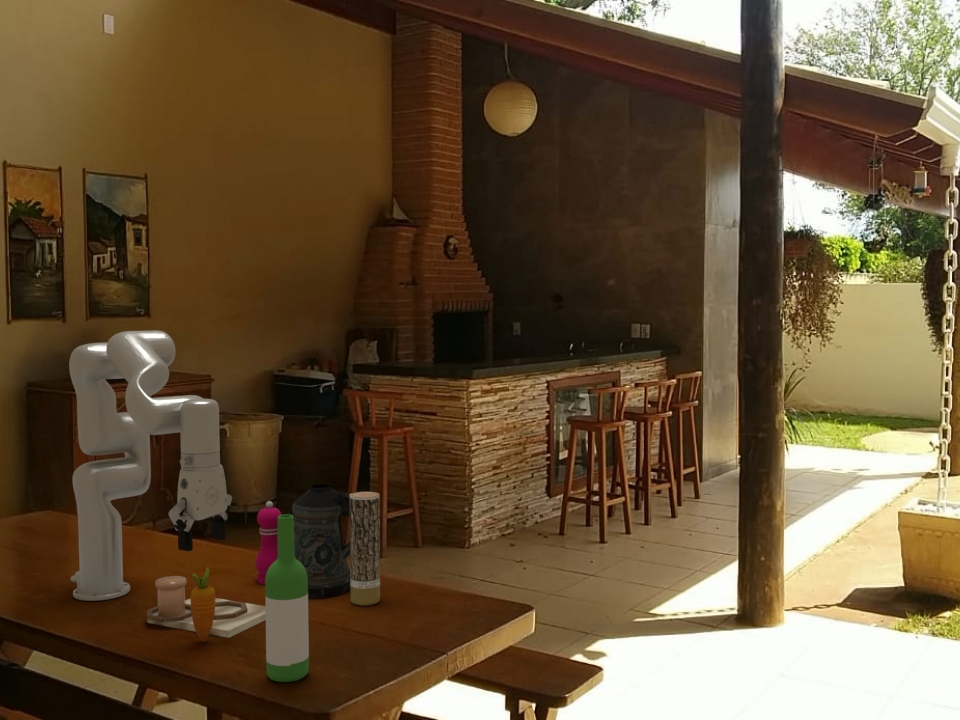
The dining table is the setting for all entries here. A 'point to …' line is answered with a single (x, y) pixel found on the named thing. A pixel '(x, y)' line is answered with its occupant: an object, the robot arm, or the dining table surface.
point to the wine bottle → (286, 610)
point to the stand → (216, 617)
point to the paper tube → (365, 548)
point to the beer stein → (322, 540)
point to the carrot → (203, 606)
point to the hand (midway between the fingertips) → (202, 544)
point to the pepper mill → (267, 540)
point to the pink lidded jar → (171, 596)
